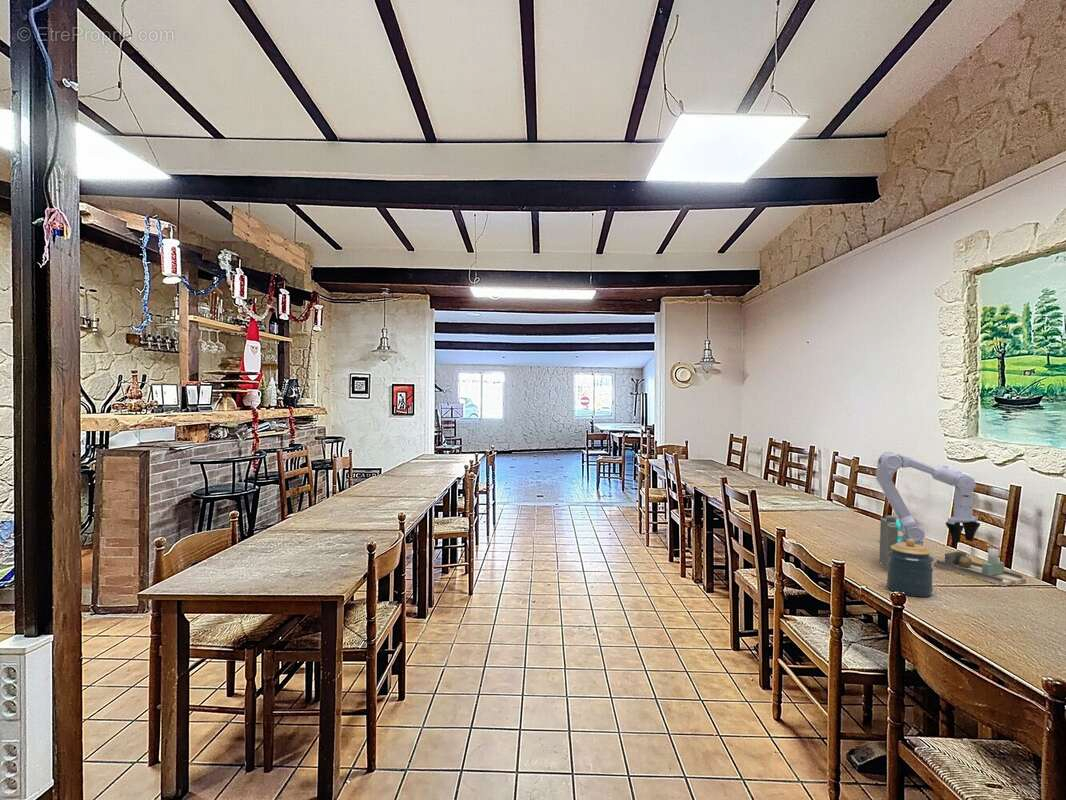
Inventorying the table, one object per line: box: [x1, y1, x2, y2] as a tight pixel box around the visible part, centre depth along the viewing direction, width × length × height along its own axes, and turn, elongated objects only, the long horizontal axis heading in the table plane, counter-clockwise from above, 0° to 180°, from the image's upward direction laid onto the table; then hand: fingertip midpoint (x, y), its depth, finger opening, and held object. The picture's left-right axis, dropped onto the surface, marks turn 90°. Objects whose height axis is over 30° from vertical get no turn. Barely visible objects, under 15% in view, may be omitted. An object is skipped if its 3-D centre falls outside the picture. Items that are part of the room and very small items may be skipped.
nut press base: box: [933, 551, 1027, 587], centre depth 209 cm, size 12×24×6 cm, turn 21°
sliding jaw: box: [981, 547, 1005, 575], centre depth 205 cm, size 9×3×9 cm, turn 111°
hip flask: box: [879, 515, 899, 573], centre depth 215 cm, size 16×4×20 cm, turn 159°
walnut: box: [959, 555, 973, 567], centre depth 214 cm, size 4×4×4 cm
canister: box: [886, 539, 934, 598], centre depth 191 cm, size 13×13×18 cm
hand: (962, 541), depth 216 cm, fingers open, 7 cm apart
